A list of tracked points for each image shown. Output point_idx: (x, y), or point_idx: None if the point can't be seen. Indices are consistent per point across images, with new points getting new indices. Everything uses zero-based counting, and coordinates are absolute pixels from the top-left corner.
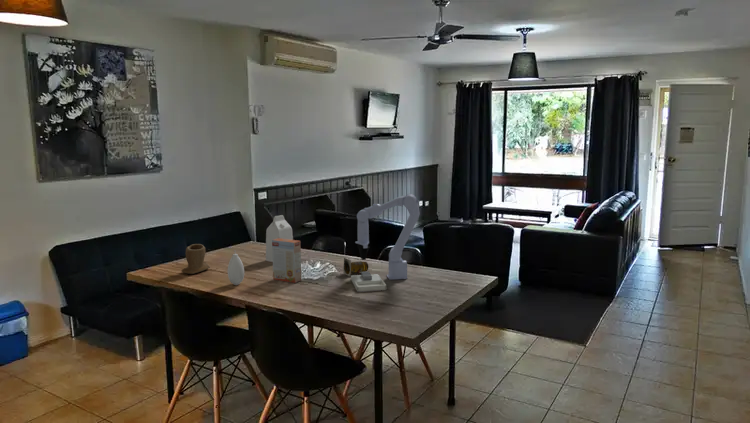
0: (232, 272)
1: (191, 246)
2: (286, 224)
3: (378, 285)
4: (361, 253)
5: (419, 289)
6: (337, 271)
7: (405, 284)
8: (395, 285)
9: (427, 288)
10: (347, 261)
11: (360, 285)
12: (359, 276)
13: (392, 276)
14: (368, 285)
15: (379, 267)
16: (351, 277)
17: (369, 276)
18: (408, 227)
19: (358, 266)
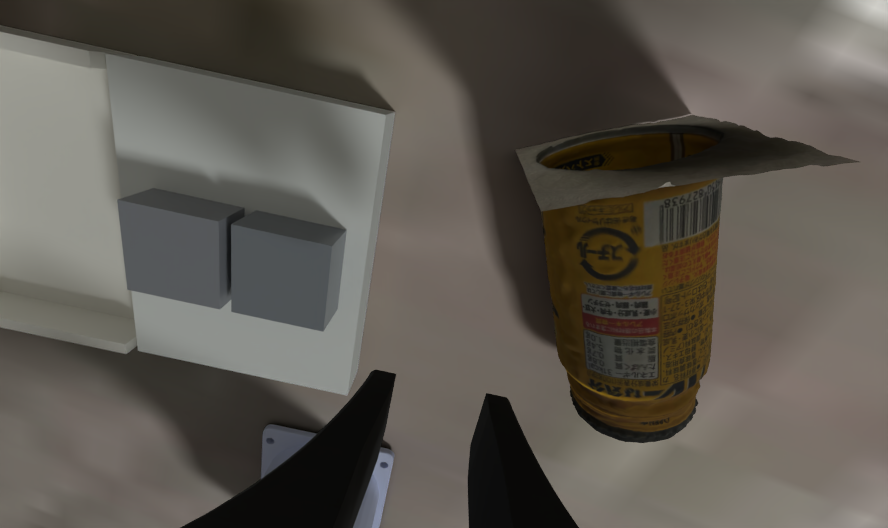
0: None
1: None
2: None
3: None
4: (298, 457)
5: (16, 482)
6: (825, 64)
7: (137, 462)
8: (118, 399)
9: (38, 523)
10: (663, 173)
11: (111, 118)
12: (316, 199)
13: (273, 464)
14: (102, 197)
15: (666, 499)
16: (357, 107)
17: (128, 263)
18: None
19: (562, 302)
